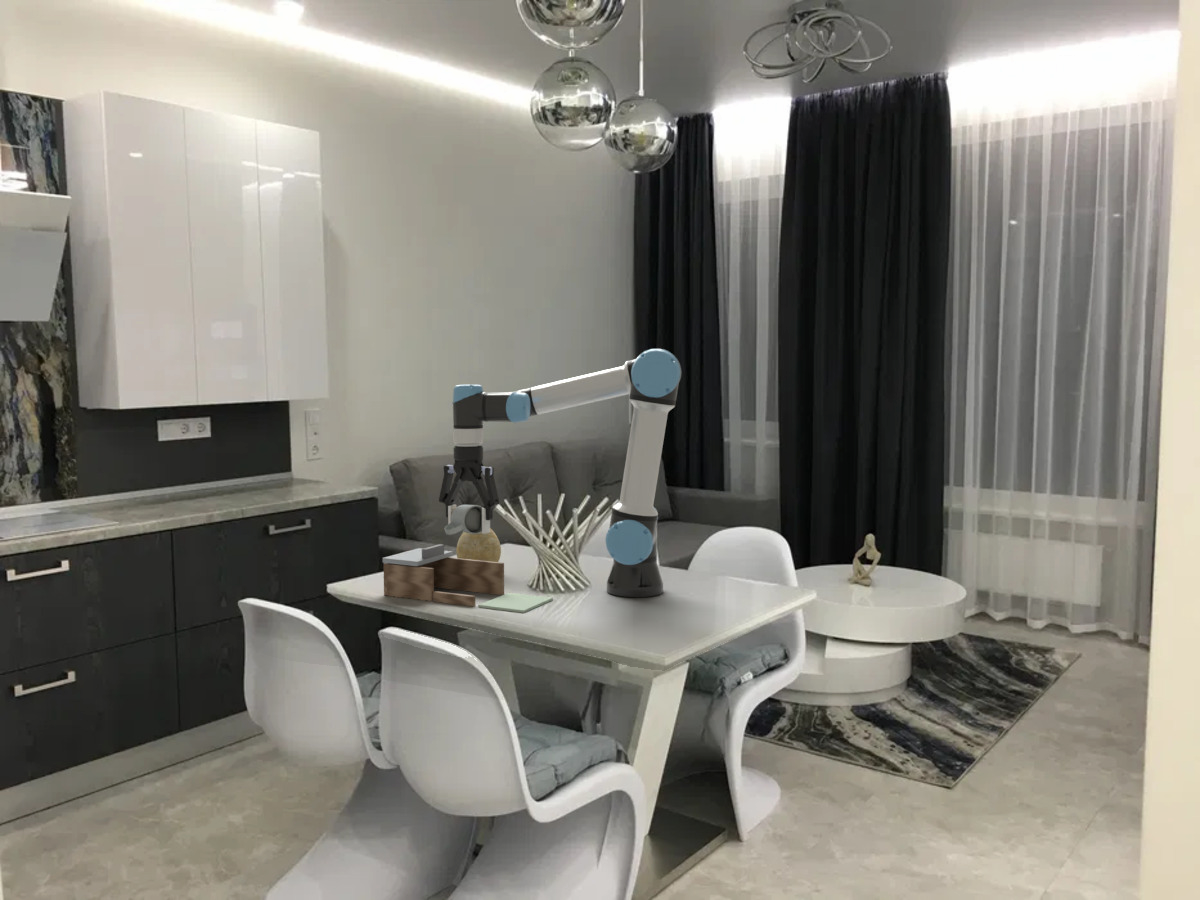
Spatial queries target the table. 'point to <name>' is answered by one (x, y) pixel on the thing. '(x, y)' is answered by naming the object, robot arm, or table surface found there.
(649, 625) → the table surface
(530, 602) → the sage mat
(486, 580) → the walnut well board
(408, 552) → the sliding cover
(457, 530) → the ceramic mug
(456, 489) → the robot arm
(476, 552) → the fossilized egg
